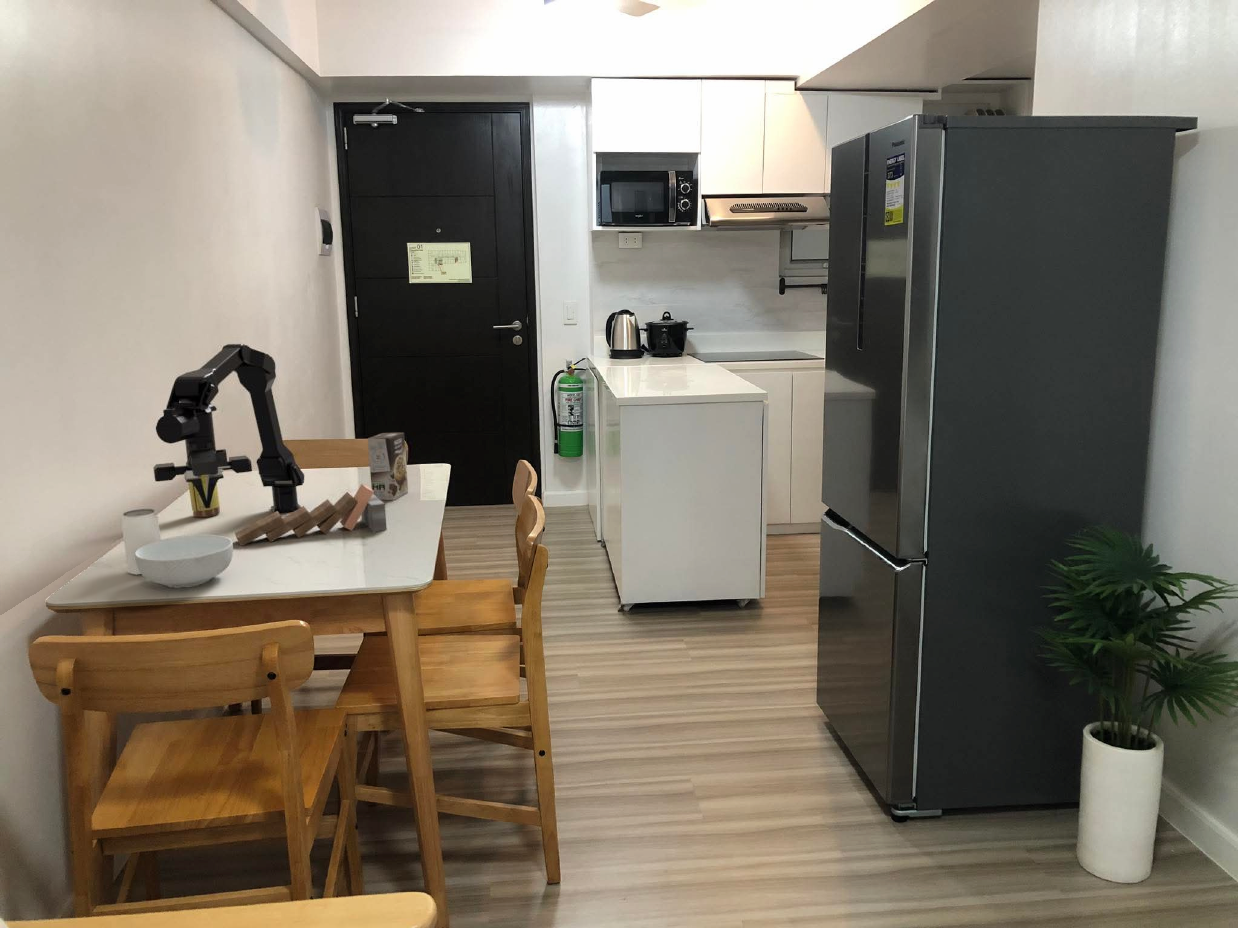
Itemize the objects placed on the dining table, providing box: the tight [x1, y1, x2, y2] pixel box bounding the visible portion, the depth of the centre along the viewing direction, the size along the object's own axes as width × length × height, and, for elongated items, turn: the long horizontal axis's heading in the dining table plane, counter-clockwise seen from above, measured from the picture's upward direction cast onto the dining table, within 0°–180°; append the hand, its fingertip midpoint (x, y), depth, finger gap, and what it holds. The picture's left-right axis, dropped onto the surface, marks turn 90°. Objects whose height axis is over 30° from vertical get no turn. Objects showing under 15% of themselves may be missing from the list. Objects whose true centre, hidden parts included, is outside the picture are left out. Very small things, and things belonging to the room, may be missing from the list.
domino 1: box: [234, 511, 285, 547], centre depth 210 cm, size 2×5×10 cm
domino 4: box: [316, 491, 358, 535], centre depth 217 cm, size 2×5×10 cm
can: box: [121, 508, 162, 575], centre depth 189 cm, size 6×6×12 cm
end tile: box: [339, 483, 374, 532], centre depth 218 cm, size 2×5×10 cm
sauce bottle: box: [185, 461, 221, 518], centre depth 232 cm, size 6×6×20 cm
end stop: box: [360, 494, 388, 533], centre depth 220 cm, size 12×3×6 cm, turn 27°
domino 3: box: [291, 499, 337, 539], centre depth 215 cm, size 2×5×10 cm
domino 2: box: [265, 505, 312, 543], centre depth 212 cm, size 2×5×10 cm
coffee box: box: [367, 432, 409, 501], centre depth 248 cm, size 9×6×16 cm
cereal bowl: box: [135, 534, 234, 589], centre depth 182 cm, size 17×17×7 cm
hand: (207, 508), depth 204 cm, fingers closed
